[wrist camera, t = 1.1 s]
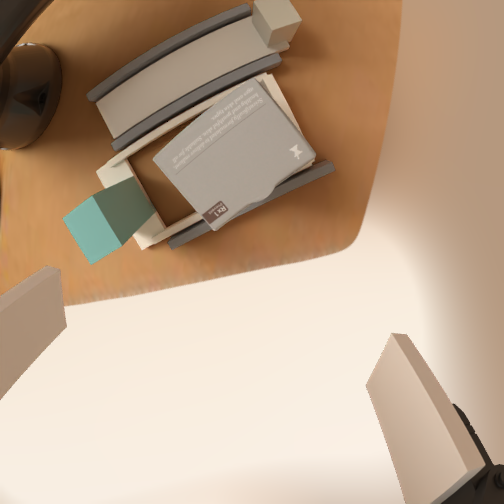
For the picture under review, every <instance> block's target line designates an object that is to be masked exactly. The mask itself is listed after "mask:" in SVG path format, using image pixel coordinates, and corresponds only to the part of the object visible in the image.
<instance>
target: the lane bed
mask: <svg viewBox="0 0 504 504" xmlns="http://www.w3.org/2000/svg"><path fill="white" fill-rule="evenodd" d="M249 16H251V8H250V7H249V5H248V4H247V3H245V4H243V5H240V6H237V7H235V8H232V9H230V10H227V11H225V12H223V13H220V14H218V15H216V16H213V17H211V18H209V19H207V20H205V21H203V22H200V23H198V24H196V25H194V26H192V27H190V28H188V29H186V30H184V31H182V32H180V33H179V34H177V35H175V36H173V37H171V38H169V39H167V40H166V41H164V42H162V43H160V44H159V45H157V46H155V47H154V48H152V49H150V50H149V51H147V52H145V53H144V54H142V55H140V56H139V57H137V58H136V59H134V60H133V61H131V62H130V63H128V64H127V65H125V66H124V67H122V68H121V69H119V70H118V71H116V72H115V73H114V74H112V75H111V76H109V77H108V78H107V79H105V80H104V81H103V82H101V83H100V84H99V85H97V86H96V87H95V88H93V89H92V90H91V91H89V92H88V93H87V94H86V96H87V98H88V100H89V101H93V102H98V101H99V100H100V99H102V98H103V97H104V96H106V95H107V94H109V93H110V92H111V91H113V90H114V89H115V88H117V87H118V86H120V85H121V84H123V83H124V82H126V81H127V80H129V79H130V78H132V77H133V76H135V75H136V74H138V73H139V72H141V71H142V70H144V69H145V68H147V67H149V66H150V65H152V64H154V63H155V62H157V61H159V60H160V59H162V58H164V57H165V56H167V55H169V54H171V53H173V52H174V51H176V50H178V49H180V48H182V47H184V46H186V45H187V44H189V43H191V42H193V41H195V40H197V39H199V38H201V37H203V36H205V35H208V34H210V33H212V32H214V31H216V30H218V29H221V28H223V27H225V26H227V25H230V24H232V23H234V22H237V21H239V20H242V19H244V18H247V17H249ZM281 62H282V59H281V57H280V56H279V54H278V53H276V54H273V55H270V56H268V57H265V58H263V59H261V60H258V61H256V62H254V63H251V64H249V65H247V66H244V67H242V68H240V69H238V70H236V71H233V72H231V73H229V74H227V75H225V76H223V77H221V78H219V79H217V80H215V81H213V82H211V83H209V84H207V85H205V86H203V87H201V88H199V89H197V90H195V91H194V92H192V93H190V94H188V95H186V96H185V97H183V98H181V99H179V100H177V101H176V102H174V103H172V104H171V105H169V106H167V107H165V108H164V109H162V110H160V111H159V112H157V113H156V114H154V115H152V116H151V117H149V118H148V119H146V120H145V121H143V122H141V123H140V124H138V125H137V126H135V127H134V128H132V129H131V130H129V131H128V132H126V133H125V134H124V135H122V136H121V137H119V138H118V139H116V140H115V141H114V142H112V143H111V145H112V147H113V149H114V151H118V150H123V149H124V148H126V147H127V146H129V145H130V144H132V143H133V142H135V141H136V140H138V139H139V138H141V137H142V136H144V135H146V134H147V133H149V132H150V131H152V130H154V129H155V128H157V127H158V126H160V125H162V124H163V123H165V122H167V121H168V120H170V119H172V118H173V117H175V116H177V115H179V114H180V113H182V112H184V111H186V110H187V109H189V108H191V107H193V106H195V105H196V104H198V103H200V102H202V101H204V100H206V99H208V98H210V97H212V96H214V95H216V94H218V93H220V92H222V91H224V90H226V89H228V88H230V87H232V86H234V85H236V84H238V83H240V82H242V81H245V80H247V79H249V78H251V77H253V76H256V75H258V74H260V73H263V72H265V71H267V70H270V69H272V68H275V67H277V66H280V64H281ZM333 171H336V170H335V168H334V165H333V163H332V162H331V161H328V160H324V161H322V162H320V163H317V164H315V165H313V166H311V167H309V168H306V169H304V170H302V171H300V172H298V173H296V174H293V175H291V176H290V177H288V178H287V179H286V180H284V181H283V182H282V183H280V184H279V185H277V186H276V187H275V188H274V190H273V191H272V193H271V194H270V195H269V196H268V197H266V198H265V199H264V200H261V201H259V202H254V203H252V204H251V205H250V206H248V207H247V208H246V209H244V210H243V211H242V212H240V213H239V214H238V215H236V216H235V217H234V218H236V217H238V216H240V215H242V214H244V213H246V212H248V211H250V210H252V209H254V208H256V207H258V206H261V205H263V204H265V203H267V202H269V201H271V200H273V199H275V198H277V197H279V196H281V195H284V194H286V193H288V192H290V191H292V190H294V189H296V188H298V187H301V186H303V185H305V184H307V183H309V182H311V181H314V180H316V179H318V178H320V177H322V176H324V175H327V174H329V173H331V172H333ZM234 218H232V219H234ZM232 219H231V220H232ZM210 230H212V228H211V227H210V226H209V225H208V224H207V222H206V221H205V220H204V219H202V220H200V221H198V222H196V223H194V224H192V225H191V226H189V227H187V228H185V229H183V230H181V231H179V232H177V233H175V234H174V235H172V236H171V238H170V239H169V241H168V244H169V246H170V248H171V249H172V250H173V249H175V248H177V247H179V246H181V245H183V244H185V243H186V242H188V241H190V240H192V239H194V238H196V237H198V236H200V235H202V234H204V233H206V232H208V231H210Z"/></svg>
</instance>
